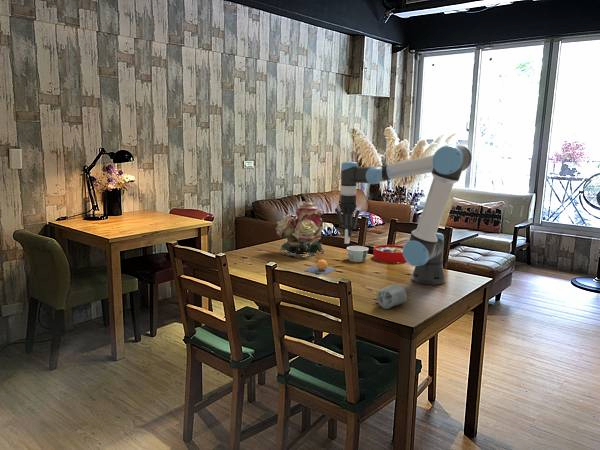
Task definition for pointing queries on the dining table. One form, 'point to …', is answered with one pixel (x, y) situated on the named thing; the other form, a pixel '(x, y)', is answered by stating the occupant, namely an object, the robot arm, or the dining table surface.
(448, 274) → the dining table surface
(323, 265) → the ball
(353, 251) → the food container
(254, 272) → the dining table surface
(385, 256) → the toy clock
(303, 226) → the rose bouquet
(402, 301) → the spool
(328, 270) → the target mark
